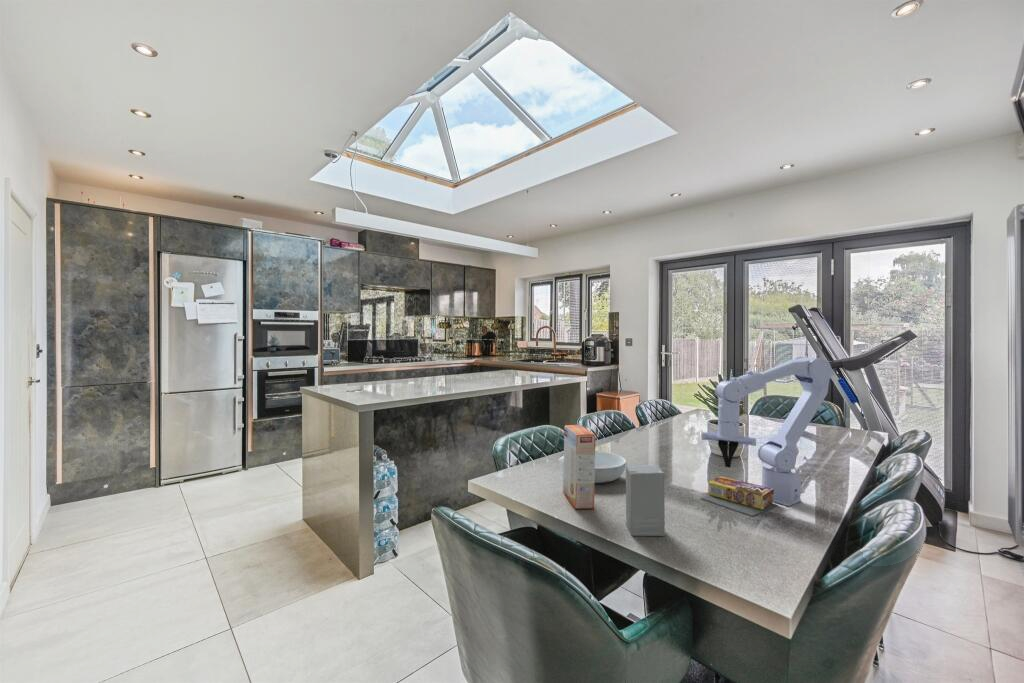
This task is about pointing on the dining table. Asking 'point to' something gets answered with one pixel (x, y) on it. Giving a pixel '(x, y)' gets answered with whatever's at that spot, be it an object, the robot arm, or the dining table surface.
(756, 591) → the dining table surface
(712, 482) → the candy box
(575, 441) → the cracker box
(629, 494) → the skincare box
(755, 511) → the mat
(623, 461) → the serving bowl
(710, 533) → the dining table surface
